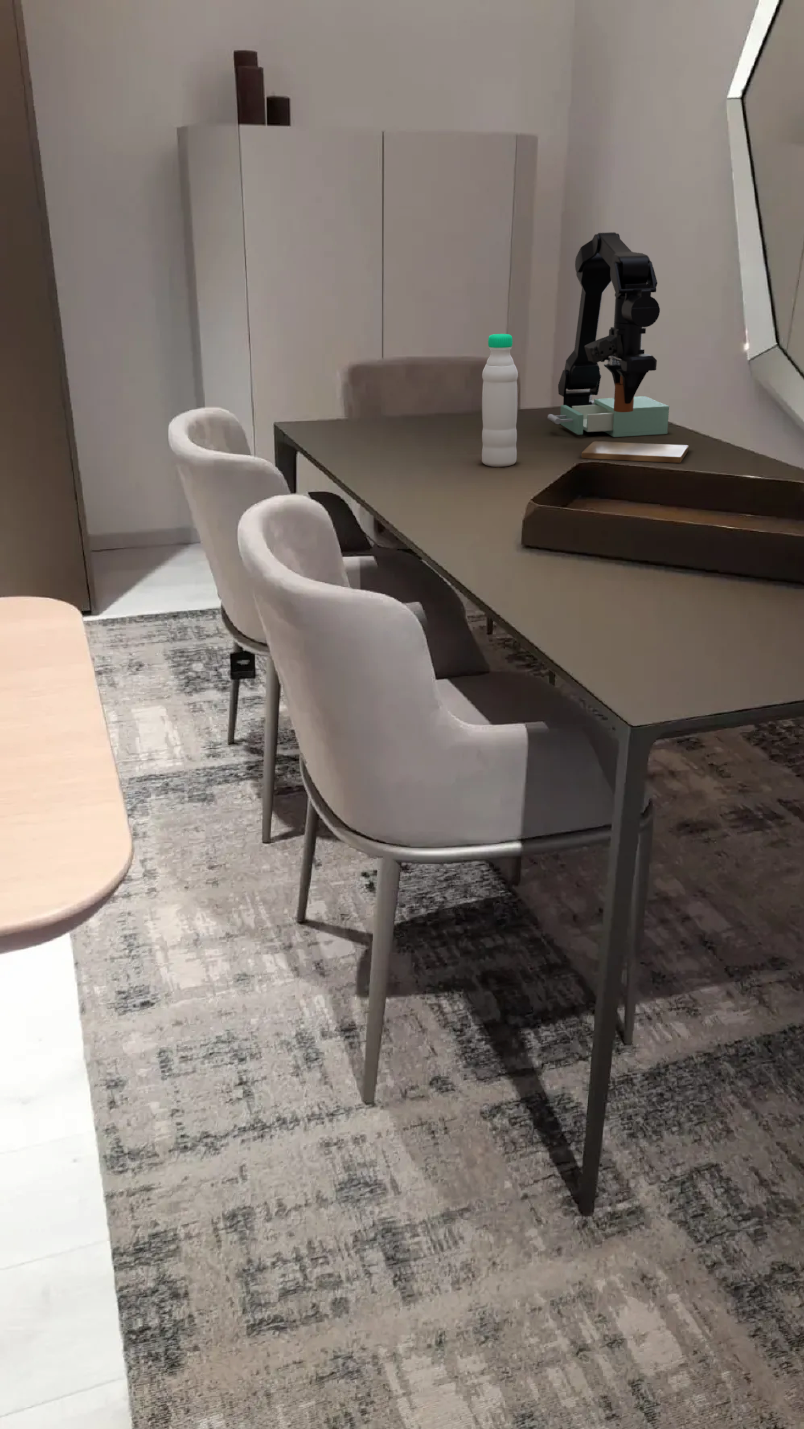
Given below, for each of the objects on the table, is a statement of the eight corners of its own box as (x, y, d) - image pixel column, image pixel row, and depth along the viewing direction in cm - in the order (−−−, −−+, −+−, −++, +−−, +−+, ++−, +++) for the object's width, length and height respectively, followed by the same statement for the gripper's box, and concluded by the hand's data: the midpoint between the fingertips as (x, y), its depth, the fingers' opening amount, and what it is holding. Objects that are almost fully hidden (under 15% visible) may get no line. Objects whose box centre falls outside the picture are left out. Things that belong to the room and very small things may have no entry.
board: (581, 458, 227) (581, 452, 226) (593, 446, 237) (593, 441, 236) (680, 463, 220) (680, 457, 220) (688, 451, 230) (688, 445, 230)
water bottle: (514, 467, 220) (516, 336, 210) (479, 467, 222) (479, 336, 211) (518, 460, 226) (520, 332, 216) (484, 459, 228) (484, 332, 217)
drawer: (559, 435, 244) (560, 416, 243) (542, 425, 256) (543, 406, 255) (627, 431, 246) (628, 412, 245) (607, 421, 258) (608, 402, 257)
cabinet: (613, 437, 246) (615, 409, 243) (592, 425, 259) (594, 399, 256) (667, 433, 248) (669, 406, 245) (644, 422, 261) (645, 396, 258)
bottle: (611, 411, 228) (614, 371, 225) (615, 408, 232) (617, 369, 228) (631, 412, 227) (633, 372, 224) (634, 409, 230) (637, 369, 227)
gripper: (575, 320, 229) (572, 397, 236) (605, 328, 213) (601, 411, 219) (627, 317, 231) (622, 394, 237) (660, 326, 214) (654, 408, 221)
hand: (623, 401), depth 229 cm, fingers closed on bottle, 4 cm apart
